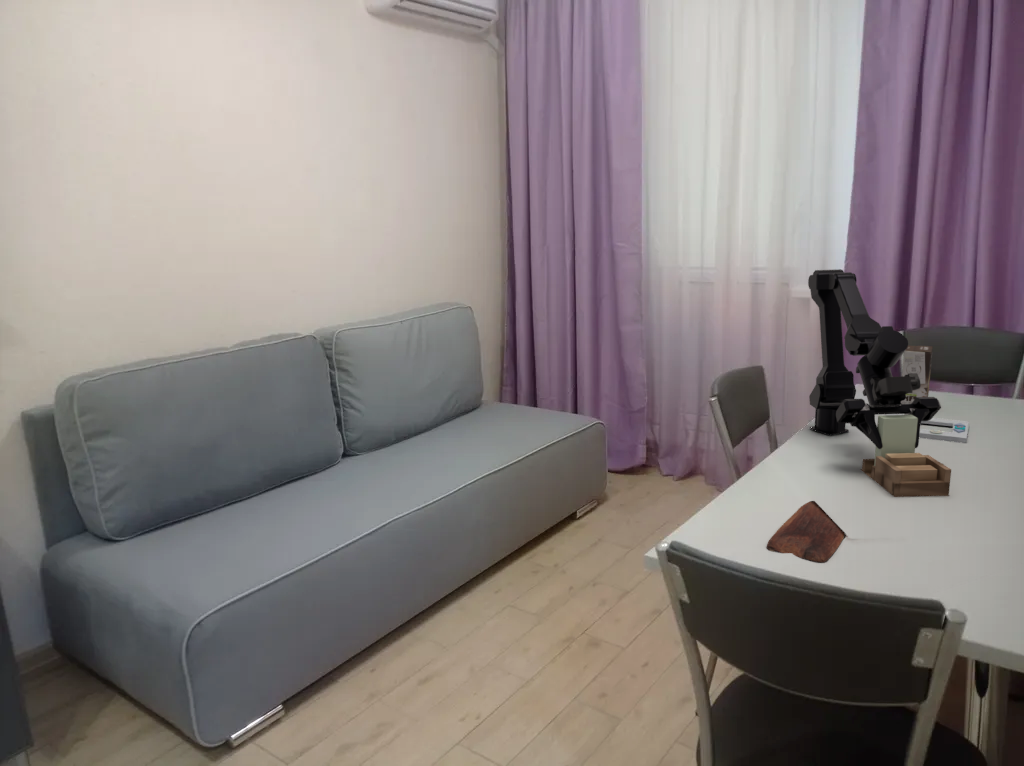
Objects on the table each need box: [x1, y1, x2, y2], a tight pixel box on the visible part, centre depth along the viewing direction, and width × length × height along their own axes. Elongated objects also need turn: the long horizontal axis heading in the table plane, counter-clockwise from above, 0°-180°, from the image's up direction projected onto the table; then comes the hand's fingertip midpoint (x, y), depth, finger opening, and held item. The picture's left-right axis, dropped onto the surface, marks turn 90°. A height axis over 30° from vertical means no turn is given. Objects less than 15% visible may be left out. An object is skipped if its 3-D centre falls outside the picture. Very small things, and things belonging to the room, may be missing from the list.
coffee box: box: [901, 344, 934, 404], centre depth 198 cm, size 9×6×16 cm
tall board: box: [874, 414, 918, 466], centre depth 148 cm, size 2×6×12 cm, turn 88°
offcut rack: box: [859, 454, 952, 498], centre depth 145 cm, size 15×10×6 cm, turn 178°
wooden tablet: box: [766, 500, 846, 564], centre depth 129 cm, size 26×2×10 cm
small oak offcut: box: [896, 465, 937, 481], centre depth 140 cm, size 2×6×4 cm, turn 88°
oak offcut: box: [885, 452, 926, 466], centre depth 144 cm, size 2×6×6 cm, turn 88°
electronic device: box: [884, 414, 970, 444], centre depth 180 cm, size 18×2×15 cm
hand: (898, 447), depth 147 cm, fingers closed on tall board, 6 cm apart
